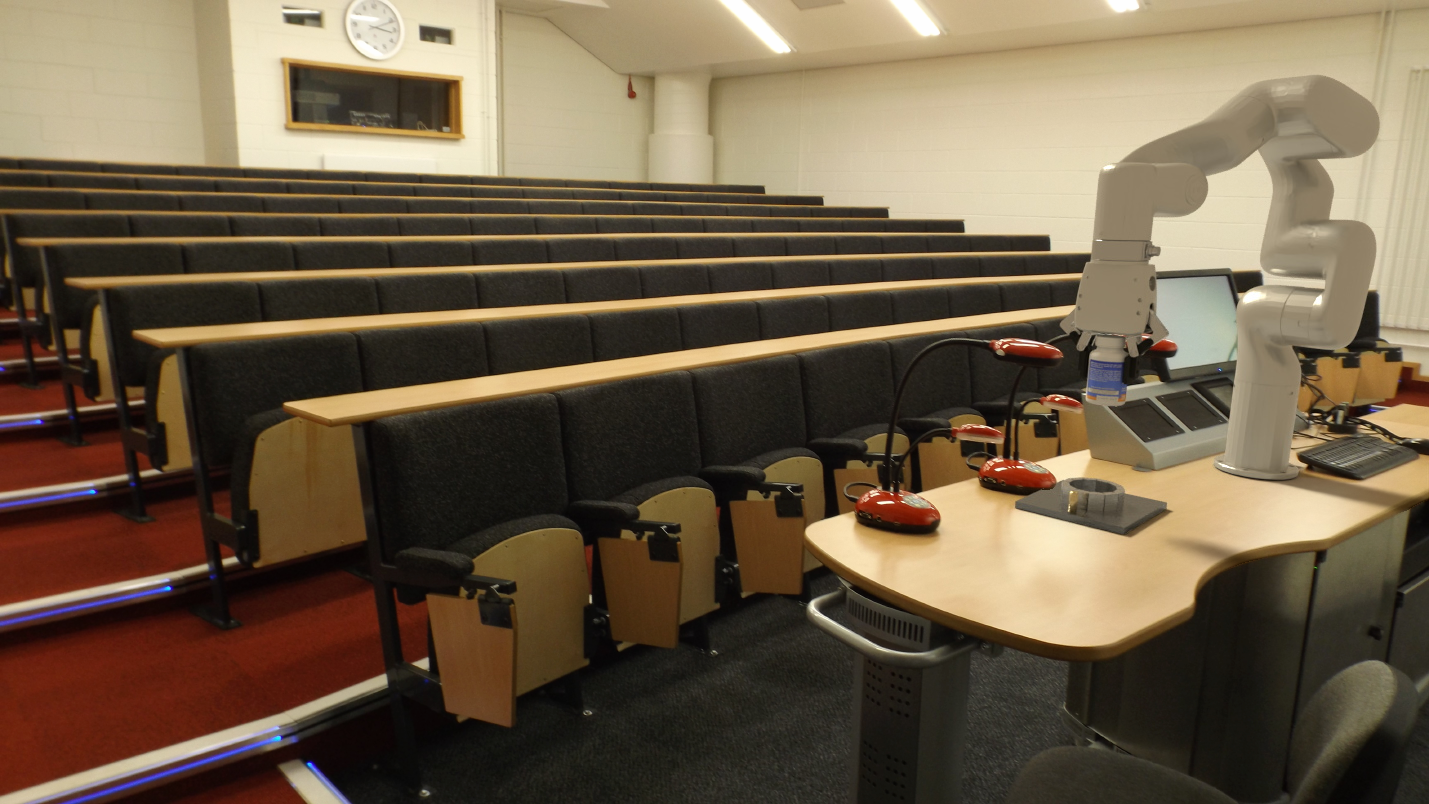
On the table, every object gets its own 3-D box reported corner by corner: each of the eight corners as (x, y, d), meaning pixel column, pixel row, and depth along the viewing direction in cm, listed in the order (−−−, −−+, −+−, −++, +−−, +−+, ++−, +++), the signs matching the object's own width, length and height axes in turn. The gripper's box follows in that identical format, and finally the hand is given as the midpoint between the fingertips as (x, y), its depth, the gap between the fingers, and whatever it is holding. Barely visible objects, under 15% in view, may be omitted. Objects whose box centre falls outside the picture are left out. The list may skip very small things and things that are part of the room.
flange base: (1062, 485, 147) (1064, 461, 147) (1166, 508, 136) (1169, 483, 136) (1014, 507, 136) (1017, 482, 136) (1123, 534, 125) (1126, 507, 124)
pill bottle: (1129, 407, 130) (1136, 339, 128) (1088, 405, 131) (1095, 338, 129) (1120, 400, 135) (1127, 334, 133) (1081, 398, 136) (1088, 333, 134)
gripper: (1194, 255, 125) (1179, 385, 129) (1071, 250, 137) (1060, 369, 141) (1175, 256, 120) (1159, 392, 124) (1049, 251, 132) (1038, 375, 135)
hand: (1107, 379), depth 132 cm, fingers closed on pill bottle, 5 cm apart
